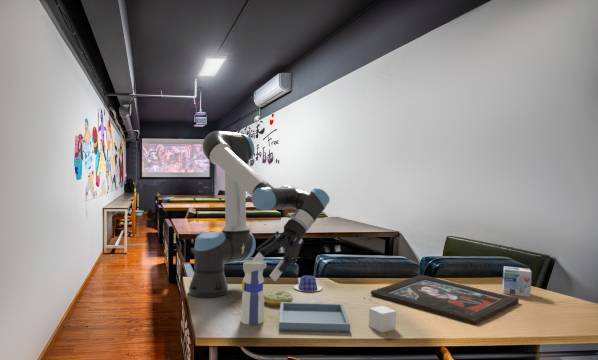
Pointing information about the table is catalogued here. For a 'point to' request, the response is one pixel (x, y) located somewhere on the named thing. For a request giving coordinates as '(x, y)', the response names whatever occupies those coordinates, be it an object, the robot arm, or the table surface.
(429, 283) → the religious icon
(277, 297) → the decorated donut
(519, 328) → the table surface
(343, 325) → the blue-gray tray
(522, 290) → the light bulb box
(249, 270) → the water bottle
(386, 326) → the white cube
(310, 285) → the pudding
